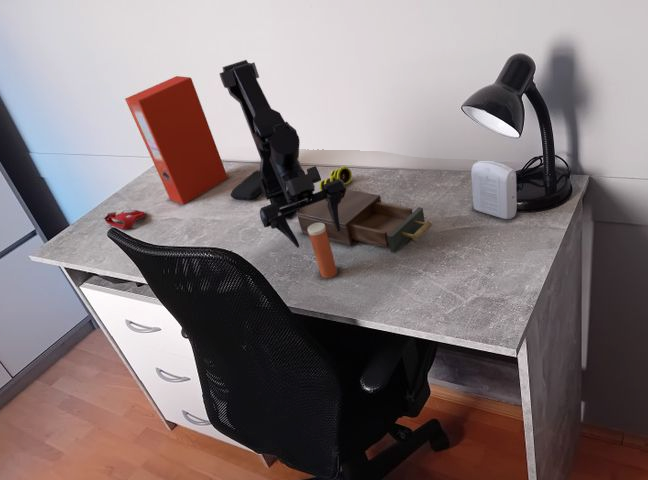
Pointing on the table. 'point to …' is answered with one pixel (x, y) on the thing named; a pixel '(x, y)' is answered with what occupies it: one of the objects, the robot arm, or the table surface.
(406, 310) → the table surface
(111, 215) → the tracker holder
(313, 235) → the tube
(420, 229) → the drawer
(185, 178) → the file binder
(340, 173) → the opera glasses
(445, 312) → the table surface
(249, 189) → the carrying case
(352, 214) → the organiser
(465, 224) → the table surface
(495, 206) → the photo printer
